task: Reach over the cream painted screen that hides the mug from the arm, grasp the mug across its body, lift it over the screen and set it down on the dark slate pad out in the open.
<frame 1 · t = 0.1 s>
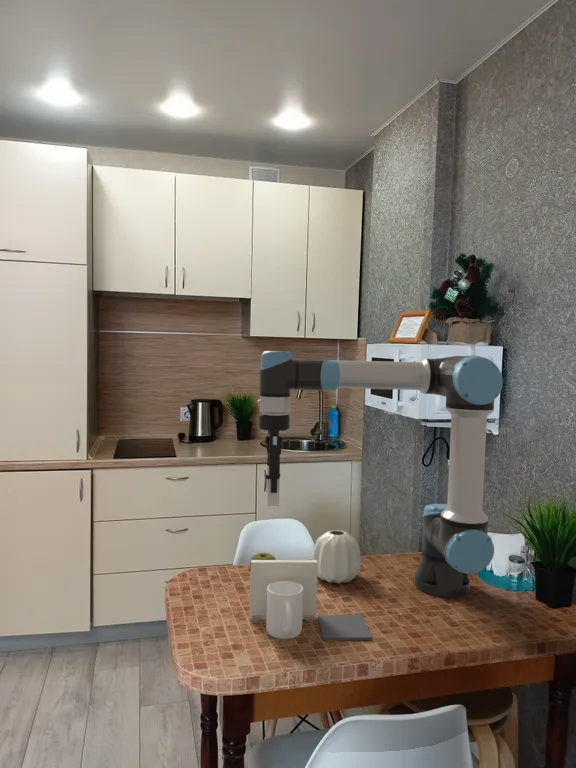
hand: (272, 498, 141), 28 cm above the table, fingers open, 13 cm apart
vase: (336, 579, 163), on the table
mug: (285, 636, 129), on the table
screen: (282, 617, 138), on the table
pad: (343, 628, 133), on the table
apple: (263, 580, 161), on the table
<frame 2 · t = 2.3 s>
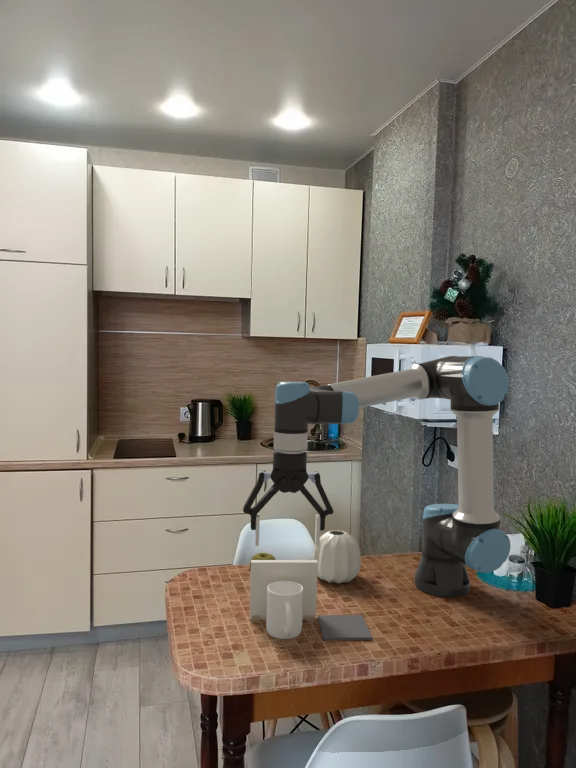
hand: (287, 544, 128), 21 cm above the table, fingers open, 13 cm apart
nothing on the table moved.
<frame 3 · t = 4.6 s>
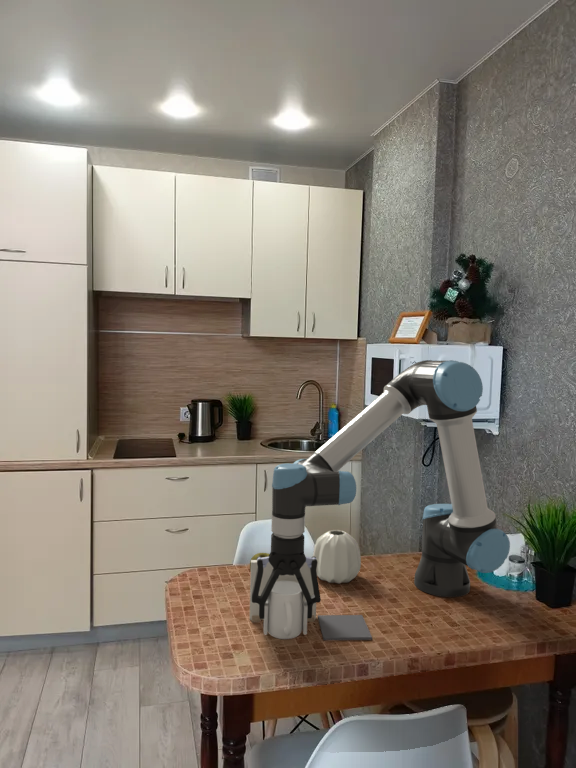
hand: (285, 631, 129), 1 cm above the table, fingers closed on mug, 8 cm apart
mug: (285, 636, 129), on the table, touching gripper
everything else where it was.
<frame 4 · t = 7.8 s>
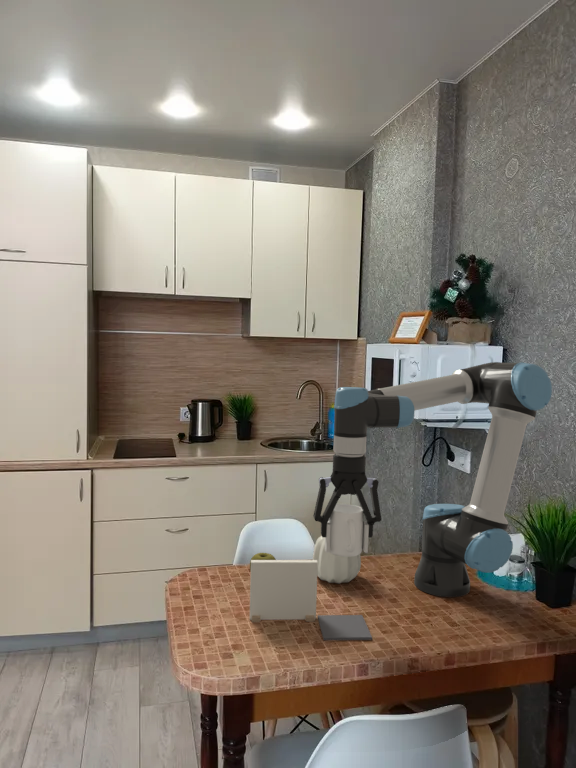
hand: (346, 550, 132), 19 cm above the table, fingers closed on mug, 8 cm apart
mug: (346, 554, 132), point 18 cm above the table, touching gripper
everything else where it was.
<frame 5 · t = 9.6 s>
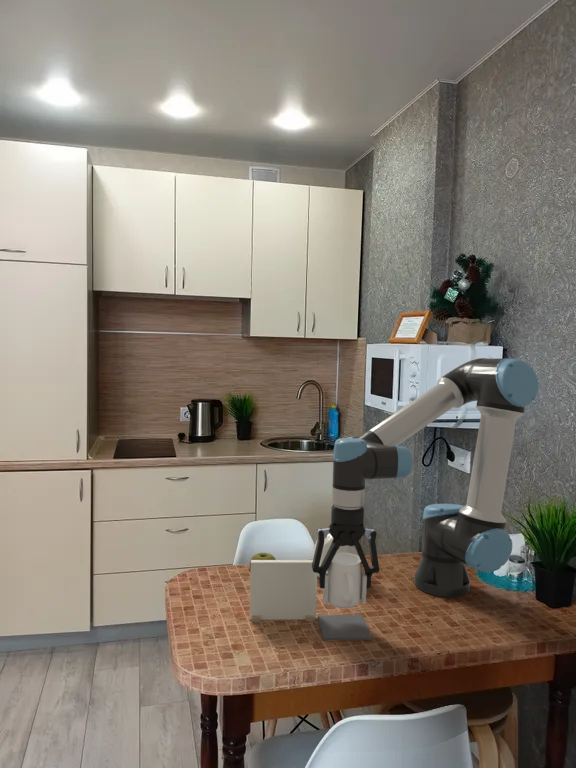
hand: (344, 601, 133), 7 cm above the table, fingers closed on mug, 8 cm apart
mug: (344, 605, 133), point 5 cm above the table, touching gripper
everything else where it was.
when the fingers open (3 cm above the table, at t = 10.9 s): mug drops 2 cm, resting on pad.
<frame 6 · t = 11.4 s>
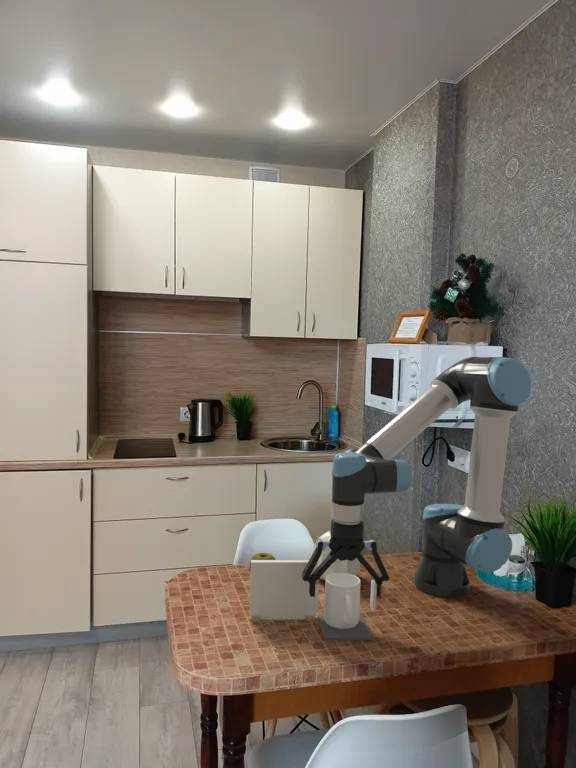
hand: (344, 609, 133), 4 cm above the table, fingers open, 13 cm apart
mug: (343, 626, 133), resting on pad
everything else where it was.
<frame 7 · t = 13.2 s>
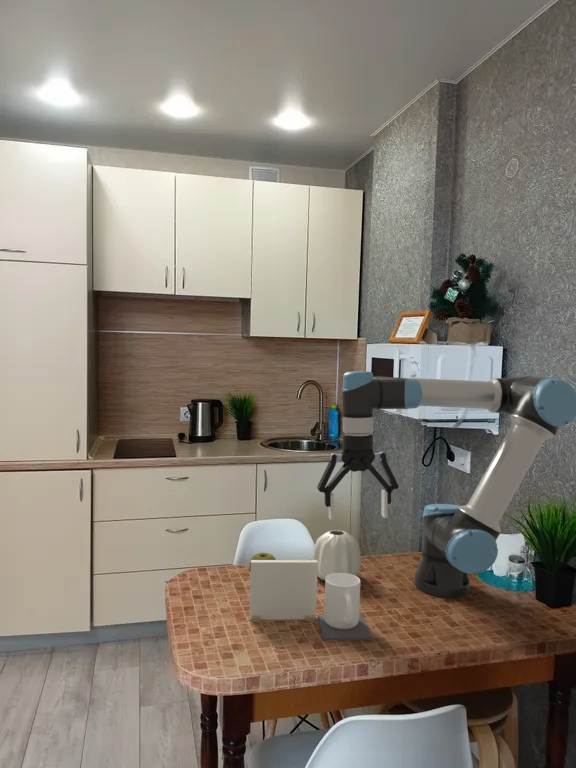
hand: (358, 518, 142), 23 cm above the table, fingers open, 13 cm apart
nothing on the table moved.
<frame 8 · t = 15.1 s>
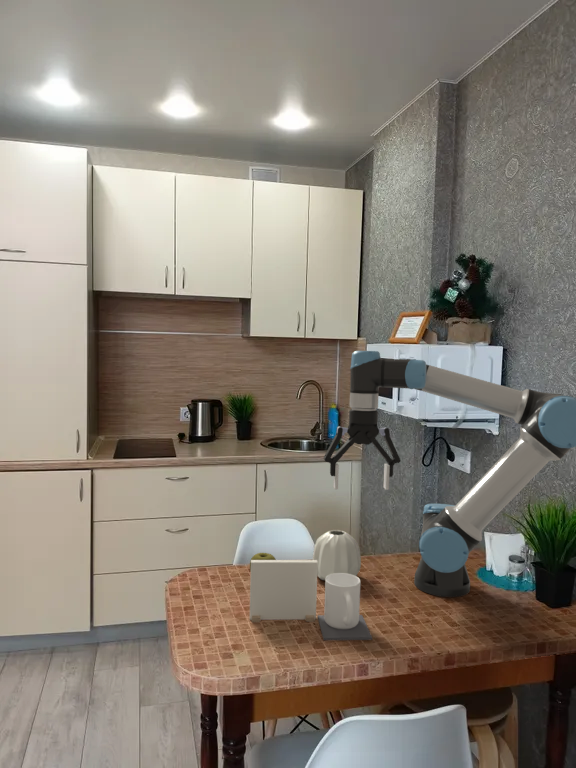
hand: (360, 488, 151), 29 cm above the table, fingers open, 13 cm apart
nothing on the table moved.
at the end: mug inside the target area on the pad (0.1 cm from its centre), point 0.4 cm above the pad's base; mug tilted 0°; the gripper is holding nothing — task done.
